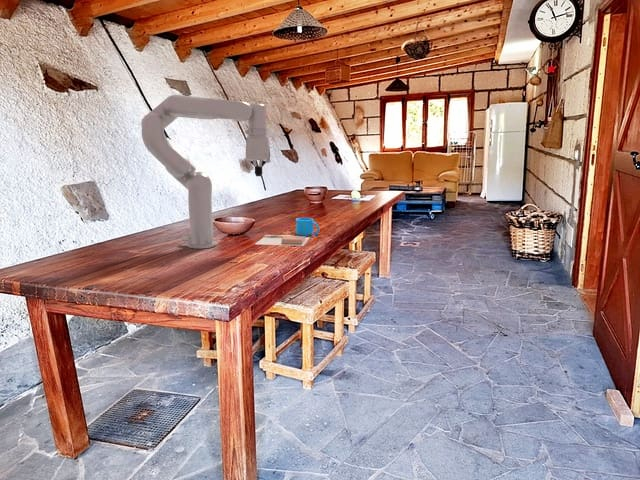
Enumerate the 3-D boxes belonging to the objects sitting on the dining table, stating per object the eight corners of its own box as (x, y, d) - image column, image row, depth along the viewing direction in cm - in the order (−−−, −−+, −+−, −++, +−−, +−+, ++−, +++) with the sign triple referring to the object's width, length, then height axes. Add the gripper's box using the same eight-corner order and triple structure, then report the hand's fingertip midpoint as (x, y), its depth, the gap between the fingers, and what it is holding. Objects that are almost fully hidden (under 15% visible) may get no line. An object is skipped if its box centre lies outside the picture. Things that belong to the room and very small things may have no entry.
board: (254, 246, 200) (254, 244, 200) (265, 238, 218) (265, 235, 217) (303, 248, 197) (303, 245, 197) (310, 239, 215) (310, 237, 214)
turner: (262, 237, 213) (262, 236, 212) (265, 235, 217) (265, 234, 217) (297, 238, 210) (297, 237, 210) (299, 236, 215) (299, 235, 215)
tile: (281, 239, 200) (302, 239, 199) (284, 235, 207) (304, 236, 206) (281, 243, 201) (302, 244, 200) (284, 240, 208) (305, 240, 206)
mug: (292, 236, 221) (292, 219, 219) (302, 233, 228) (301, 217, 226) (314, 239, 215) (314, 221, 214) (323, 236, 222) (323, 219, 221)
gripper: (238, 133, 200) (239, 176, 204) (272, 133, 198) (273, 177, 202) (243, 133, 207) (244, 175, 211) (276, 133, 205) (277, 175, 209)
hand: (258, 176), depth 207 cm, fingers closed
